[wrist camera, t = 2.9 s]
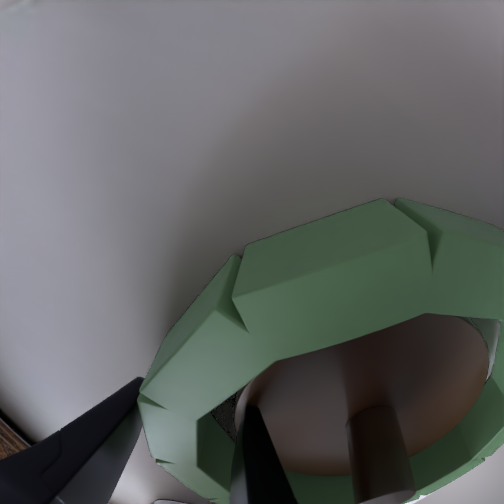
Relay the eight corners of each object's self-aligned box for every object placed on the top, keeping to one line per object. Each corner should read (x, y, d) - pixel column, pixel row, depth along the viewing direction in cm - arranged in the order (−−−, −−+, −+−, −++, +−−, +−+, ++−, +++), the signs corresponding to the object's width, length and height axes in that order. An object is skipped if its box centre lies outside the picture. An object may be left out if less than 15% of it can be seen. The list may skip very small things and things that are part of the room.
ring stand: (315, 478, 12) (316, 544, 8) (180, 381, 9) (144, 482, 6) (488, 396, 9) (520, 462, 5) (446, 229, 6) (545, 314, 3)
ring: (296, 499, 13) (296, 532, 11) (87, 354, 9) (55, 399, 7) (528, 389, 9) (546, 420, 7) (472, 94, 5) (534, 90, 3)
